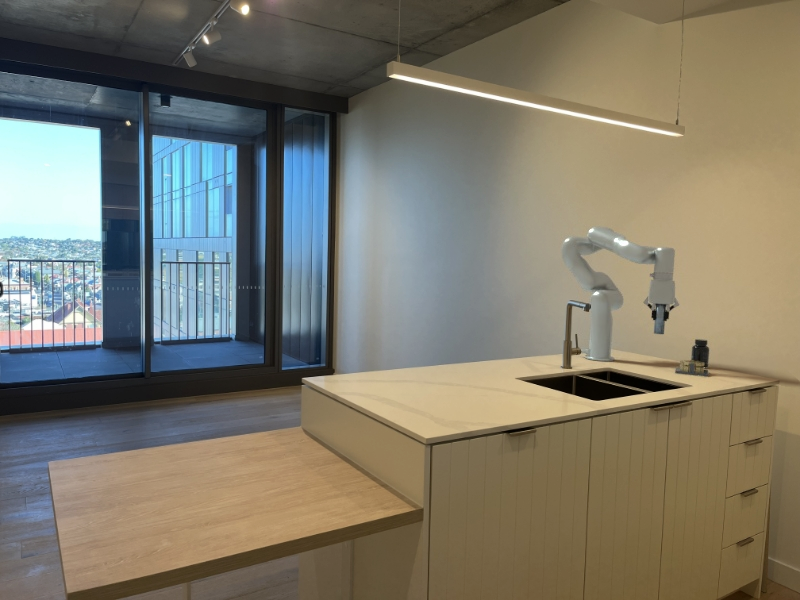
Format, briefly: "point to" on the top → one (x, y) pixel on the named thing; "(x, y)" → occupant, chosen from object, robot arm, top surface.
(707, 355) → the supplement bottle
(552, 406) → the top surface
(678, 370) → the firebox
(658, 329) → the steel tube
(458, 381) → the top surface
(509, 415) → the top surface
